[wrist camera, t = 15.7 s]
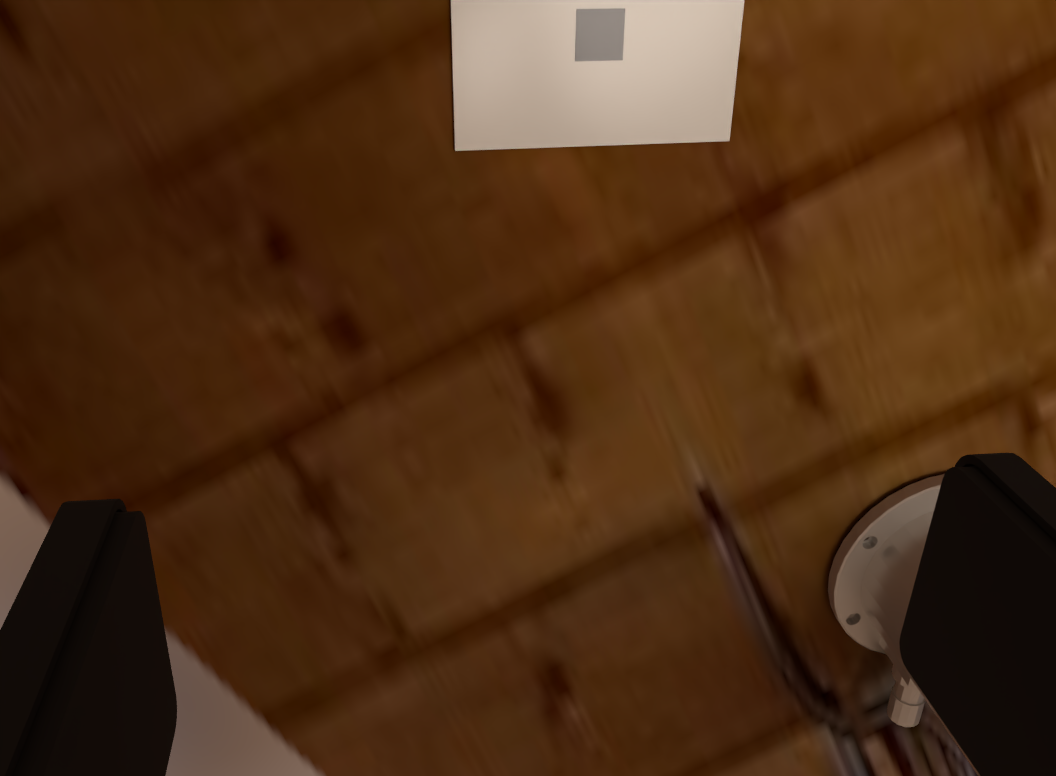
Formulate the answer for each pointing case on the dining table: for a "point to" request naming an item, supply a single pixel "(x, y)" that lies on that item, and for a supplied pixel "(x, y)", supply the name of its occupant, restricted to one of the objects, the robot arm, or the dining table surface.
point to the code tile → (593, 72)
